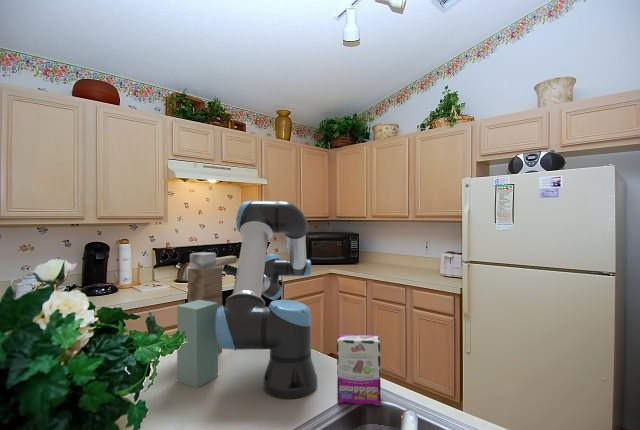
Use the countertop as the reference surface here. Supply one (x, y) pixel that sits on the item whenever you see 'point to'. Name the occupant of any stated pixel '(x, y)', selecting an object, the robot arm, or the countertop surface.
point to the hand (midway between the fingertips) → (226, 260)
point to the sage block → (197, 343)
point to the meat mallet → (209, 260)
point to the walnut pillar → (205, 286)
